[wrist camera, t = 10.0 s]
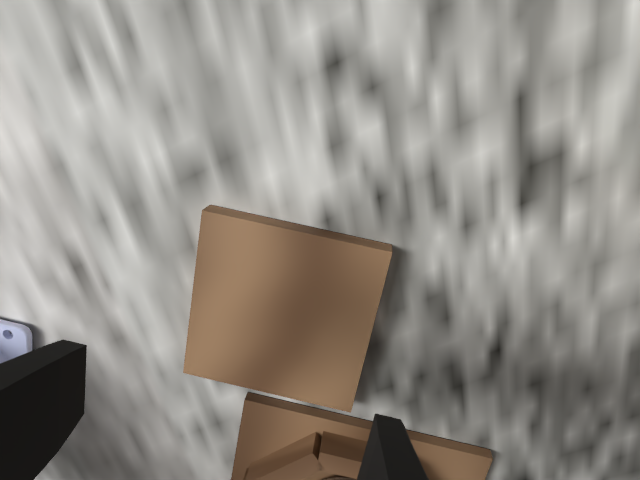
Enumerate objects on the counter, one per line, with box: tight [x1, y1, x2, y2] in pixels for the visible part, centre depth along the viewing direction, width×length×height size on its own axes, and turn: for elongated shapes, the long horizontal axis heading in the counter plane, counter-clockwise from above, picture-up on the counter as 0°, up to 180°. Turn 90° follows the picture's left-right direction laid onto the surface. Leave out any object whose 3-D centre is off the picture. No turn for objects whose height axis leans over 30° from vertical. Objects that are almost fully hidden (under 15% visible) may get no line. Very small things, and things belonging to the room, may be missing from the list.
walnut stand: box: [183, 205, 392, 412], centre depth 21 cm, size 8×8×1 cm
